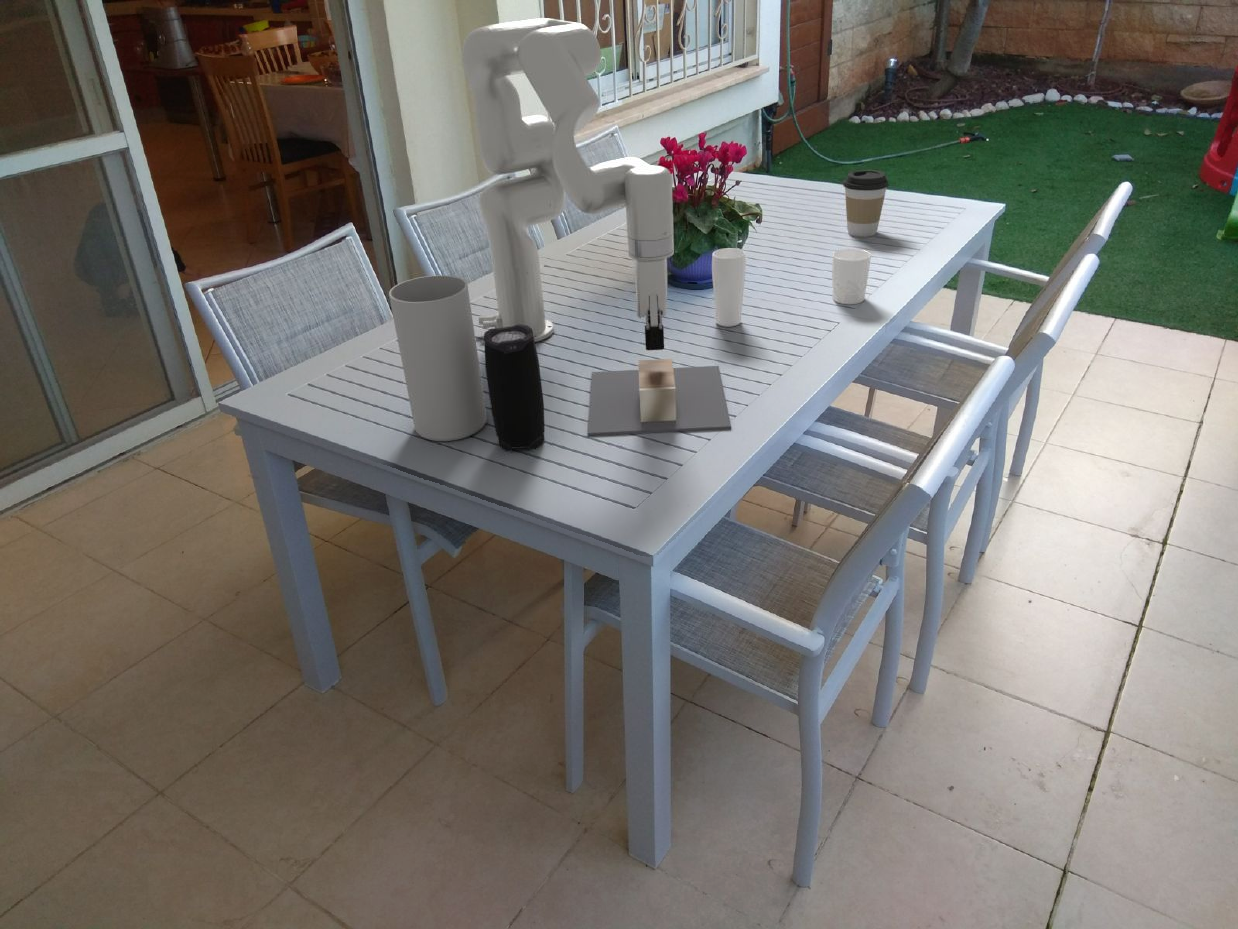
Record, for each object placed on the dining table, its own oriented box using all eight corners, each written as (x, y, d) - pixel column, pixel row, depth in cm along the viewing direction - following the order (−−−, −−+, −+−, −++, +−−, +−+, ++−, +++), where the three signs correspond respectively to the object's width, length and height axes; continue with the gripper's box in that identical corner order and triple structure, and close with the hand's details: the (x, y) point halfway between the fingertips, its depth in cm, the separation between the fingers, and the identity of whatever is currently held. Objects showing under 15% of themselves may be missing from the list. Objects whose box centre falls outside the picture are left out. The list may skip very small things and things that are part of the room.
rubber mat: (587, 435, 156) (587, 433, 156) (591, 374, 177) (591, 372, 176) (731, 428, 155) (731, 426, 155) (718, 368, 176) (718, 365, 176)
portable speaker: (542, 425, 160) (530, 318, 150) (551, 451, 152) (540, 340, 142) (492, 433, 159) (477, 325, 149) (499, 459, 151) (484, 348, 141)
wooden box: (639, 390, 168) (641, 422, 158) (638, 360, 165) (639, 390, 155) (673, 389, 168) (676, 420, 158) (672, 358, 165) (675, 388, 155)
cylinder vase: (502, 421, 162) (483, 284, 149) (446, 450, 154) (421, 308, 142) (456, 402, 170) (434, 270, 157) (400, 429, 162) (373, 292, 149)
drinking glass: (743, 329, 191) (744, 258, 183) (710, 328, 192) (710, 258, 185) (746, 317, 197) (747, 247, 189) (714, 316, 198) (713, 247, 190)
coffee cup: (858, 223, 248) (862, 166, 241) (893, 232, 241) (899, 172, 233) (830, 233, 242) (834, 175, 235) (866, 242, 235) (871, 182, 227)
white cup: (829, 305, 200) (831, 259, 195) (830, 292, 206) (833, 248, 201) (866, 306, 198) (870, 260, 193) (867, 293, 205) (871, 248, 200)
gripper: (627, 232, 159) (633, 332, 168) (628, 260, 146) (633, 367, 156) (671, 230, 159) (674, 330, 168) (675, 258, 146) (678, 365, 155)
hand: (654, 347), depth 162 cm, fingers closed
